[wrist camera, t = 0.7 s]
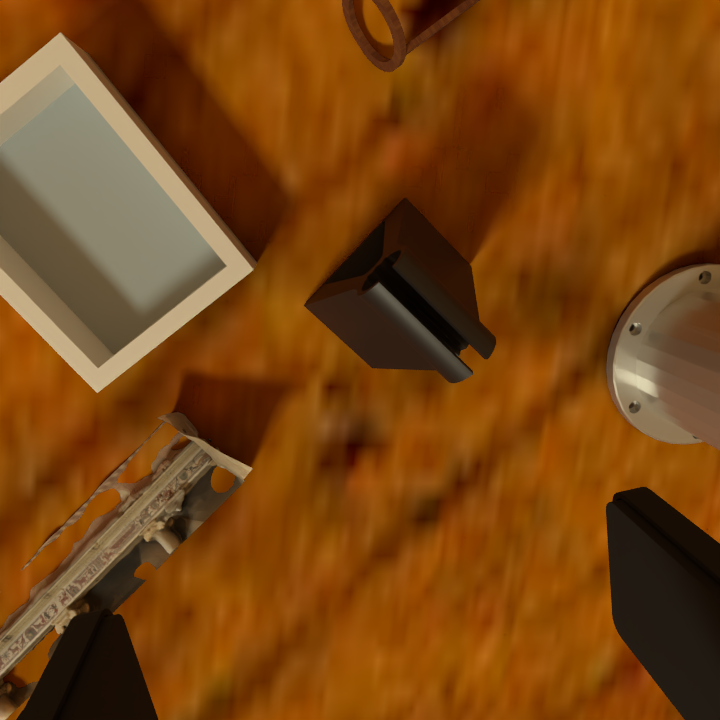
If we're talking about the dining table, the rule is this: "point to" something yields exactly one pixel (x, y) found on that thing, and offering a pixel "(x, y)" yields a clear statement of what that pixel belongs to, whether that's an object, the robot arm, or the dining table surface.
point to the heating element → (118, 546)
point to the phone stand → (405, 299)
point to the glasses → (395, 32)
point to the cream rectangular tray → (100, 219)
